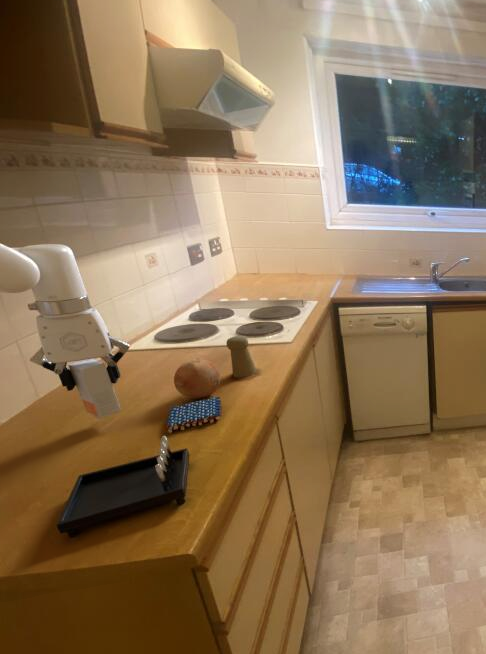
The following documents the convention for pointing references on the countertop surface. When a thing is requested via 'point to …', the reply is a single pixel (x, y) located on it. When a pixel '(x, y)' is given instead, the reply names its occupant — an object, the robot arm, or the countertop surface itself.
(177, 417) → the woven mat
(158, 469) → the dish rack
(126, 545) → the countertop surface
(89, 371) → the cosmetic box
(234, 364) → the pepper mill
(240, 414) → the countertop surface
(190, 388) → the onion
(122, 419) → the countertop surface
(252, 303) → the countertop surface
